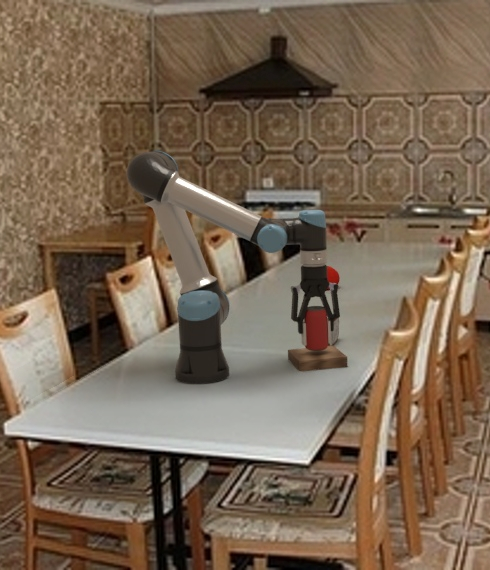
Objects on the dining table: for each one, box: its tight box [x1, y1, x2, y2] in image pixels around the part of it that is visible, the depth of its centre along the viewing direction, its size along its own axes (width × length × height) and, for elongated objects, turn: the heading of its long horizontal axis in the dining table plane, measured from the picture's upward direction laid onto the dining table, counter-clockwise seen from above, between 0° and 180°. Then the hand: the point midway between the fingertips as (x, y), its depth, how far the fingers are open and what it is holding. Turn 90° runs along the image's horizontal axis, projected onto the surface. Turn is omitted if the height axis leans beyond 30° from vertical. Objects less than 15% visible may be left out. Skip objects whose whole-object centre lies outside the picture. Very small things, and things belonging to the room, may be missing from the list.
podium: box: [287, 345, 348, 372], centre depth 276 cm, size 14×14×3 cm
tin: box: [327, 317, 340, 346], centre depth 298 cm, size 15×3×8 cm, turn 162°
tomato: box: [326, 265, 341, 290], centre depth 393 cm, size 11×12×9 cm
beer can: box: [304, 305, 328, 351], centre depth 275 cm, size 7×7×12 cm
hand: (316, 343), depth 276 cm, fingers closed on beer can, 6 cm apart
